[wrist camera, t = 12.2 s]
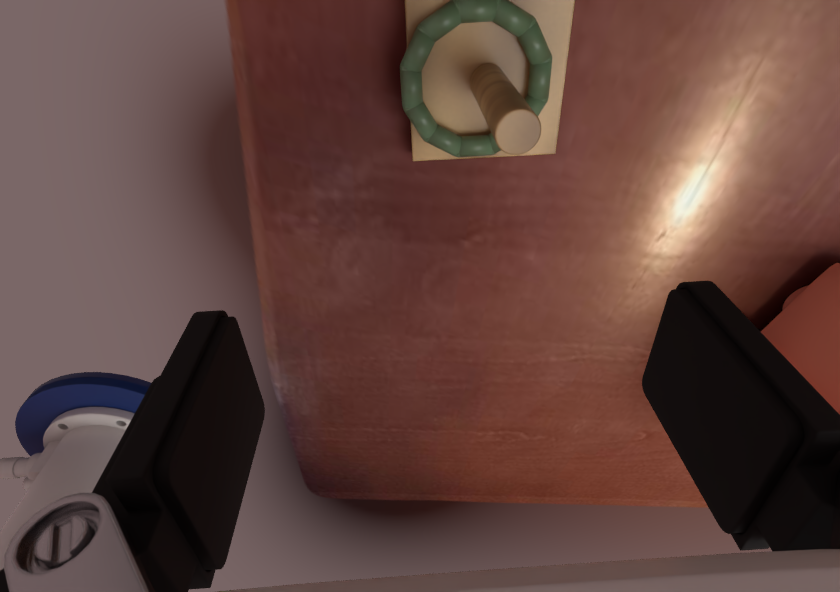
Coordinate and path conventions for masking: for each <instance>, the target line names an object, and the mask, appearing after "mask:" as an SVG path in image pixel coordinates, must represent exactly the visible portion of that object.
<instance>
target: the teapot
mask: <svg viewBox="0 0 840 592" xmlns="http://www.w3.org/2000/svg"><path fill="white" fill-rule="evenodd" d="M782 310H783V311H782V312H781V313H780V314H779V315H778V316H776V317H775V318H774V319H773V320H772V321H771V322H770V323H769V324H768V325H767V326H766V327H765V328H764V329H763V330H762V331H761V333H762V334H763V335H764V336H765V337H766V338H767V339H768V340H769V341H770V342H771V343H772V344H773V345H774V346H775V347H776V349H777V350H778V351H779V352H780V353H781V354H782V355H783V356H784V357H785V358H786V359H787V360H788V361H789V362H790V363H791V364H792V365H793V366H794V367H795V368H796V369H797V371H798V372H799V373H800V374H801V375H802V376H803V377H804V378H805V379H806V380H807V381H808V382H809V383H810V384H811V385H812V386H813V387H814V388H815V389H816V390H817V391H818V392H819V394H820V395H821V396H822V397H823V398H824V399H825V400H826V401H827V402H828V403H829V404H830V405H831V406H832V407H833V408H834V409H835V410H836V411H837V412H838V413H839V414H840V263H835V264H833V265H832V266H831V267H829V268H828V269H827V270H826V271H824V272H823V273H822V274H821V275H820V276H819V277H818V278H817V279H815V280H814V281H813V282H812V283H811V284H810V285H808V286H805V287H802V288H800V289H798V290H796V291H795V292H793V293H792V294H791V295H790V296H789V297H788V298H787V299H786V300H785V302H784V304H783V308H782Z"/></svg>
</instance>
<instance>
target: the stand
mask: <svg viewBox="0 0 840 592" xmlns="http://www.w3.org/2000/svg"><path fill="white" fill-rule="evenodd" d="M449 1H450V0H405V20H406V40H407V48H408V46H409V43H410V41H411V39H412V37H413V34H414V32H415V30H416V28H417V26H418V24H419V23H421V22H422V21H423V20H424V19H426V18H427V17H429V16H430V15H431V14H433V13H434V12H435V11H437V10H438V9H439V8H441V7H442V6H443V5H445V4H446V3H447V2H449ZM509 1H510V2H512V3H513V4H515V5H517V6H518V7H520V8H521V9H523V10H525V11H526V12H528V13H529V14H531V15H533V16H534V17H535V18H536V20H537V22H538V25H539V27H540V29H541V31H542V34H543V36H544V38H545V40H546V43H547V45H548V47H549V49H550V52H551V54H552V69H551V79H550V89H549V98H548V101H547V103H546V104H545V106H544V108H543V109H542V111H541V112H540V114H539V116H537V115H536V114H535V113H534V111H533V110H532V109H531V107H530V106H529V105H528V103H527V102H526V101H525V97H526V96H527V94H528V81H529V67H530V63H529V61H528V59H527V57H526V54H525V52H524V50H523V48H522V46H521V44H520V42H519V40H518V38H517V36H515V35H513V34H512V33H510V32H508V31H507V30H505V29H504V28H502V27H500V26H499V25H497V24H495V23H494V22H476V23H461V24H460V25H458V26H457V27H456V28H454V29H453V30H451V31H450V32H449V33H447V34H446V35H444V36H443V37H442V38H440V39H439V40H438V41H436V42H435V44H434V46H433V48H432V50H431V52H430V54H429V56H428V59H427V61H426V63H425V65H424V67H423V69H422V92H423V102H424V104H425V105H426V107H427V108H428V110H429V112H430V113H431V115H432V116H433V118H434V120H435V121H436V123H437V124H438V125H440V126H442V127H444V128H446V129H448V130H449V131H451V132H453V133H455V134H457V135H459V136H475V135H488V134H490V133H492V135H493V137H494V140H495V142H496V144H497V146H498V147H499V148H500V149H501V151H499V152H497V153H496V154H494V155H486V156H471V157H455V156H453V155H451V154H449V153H447V152H445V151H443V150H441V149H439V148H437V147H435V146H433V145H431V144H429V143H427V142H425V141H424V140H423V139H422V138H421V136H420V135H419V133H418V132H417V130H416V129H415V127H414V125H413V124H412V122H411V121H410V122H411V142H412V160H413V161H427V160H446V159H466V158H486V157H505V156H525V155H545V154H555V153H556V145H557V137H558V130H559V122H560V114H561V106H562V98H563V90H564V83H565V75H566V67H567V59H568V51H569V43H570V36H571V28H572V20H573V12H574V4H575V0H509Z"/></svg>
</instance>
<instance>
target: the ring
mask: <svg viewBox="0 0 840 592" xmlns="http://www.w3.org/2000/svg"><path fill="white" fill-rule="evenodd" d="M476 22H494V23H495V24H497V25H499V26H500V27H502V28H504V29H505V30H507V31H508V32H510V33H512V34H513V35H515V36H517V38H518V40H519V42H520V44H521V46H522V48H523V50H524V52H525V54H526V57H527V59H528V61H529V63H530V67H529V81H528V94H527V96H526V97H525V101H526V102H527V103H528V105H529V106H530V107H531V109H532V110H533V111H534V113H535V114H536V115H537V116H539V114H540V112H541V111H542V109H543V108H544V106H545V104H546V103H547V101H548V98H549V89H550V79H551V69H552V54H551V52H550V49H549V47H548V45H547V43H546V40H545V38H544V36H543V34H542V31H541V29H540V27H539V25H538V22H537V20H536V18H535V17H534V16H533V15H531V14H529V13H528V12H526V11H525V10H523V9H521V8H520V7H518V6H517V5H515V4H513V3H512V2H510V1H509V0H450V1H449V2H447V3H446V4H445V5H443V6H442V7H441V8H439V9H438V10H437V11H435V12H434V13H433V14H431V15H430V16H429V17H427V18H426V19H424V20H423V21H422V22H421V23H419V24H418V26H417V28H416V30H415V32H414V34H413V37H412V39H411V41H410V43H409V46H408V48H407V50H406V52H405V54H404V57H403V59H402V61H401V64H400V81H401V96H402V107H403V110H404V112H405V113H406V115H407V116H408V118H409V119H410V121H411V122H412V124H413V125H414V127H415V129H416V130H417V132H418V133H419V135H420V136H421V138H422V139H423V140H424V141H425V142H427V143H429V144H431V145H433V146H435V147H437V148H439V149H441V150H443V151H445V152H447V153H449V154H451V155H453V156H455V157H471V156H486V155H494V154H496V153H497V152H499V151H501V149H500V148H499V147H498V146H497V144H496V142H495V140H494V137H493V135H492V133H490V134H488V135H475V136H459V135H457V134H455V133H453V132H451V131H449V130H448V129H446V128H444V127H442V126H440V125H438V124H437V123H436V121H435V120H434V118H433V116H432V115H431V113H430V112H429V110H428V108H427V107H426V105H425V104H424V102H423V92H422V69H423V67H424V65H425V63H426V61H427V59H428V56H429V54H430V52H431V50H432V48H433V46H434V44H435V42H436V41H438V40H439V39H440V38H442V37H443V36H444V35H446V34H447V33H449V32H450V31H451V30H453V29H454V28H456V27H457V26H458V25H460V24H461V23H476Z"/></svg>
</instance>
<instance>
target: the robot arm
mask: <svg viewBox="0 0 840 592" xmlns="http://www.w3.org/2000/svg"><path fill="white" fill-rule="evenodd" d="M642 386H643V391H644V393H645V396H646V397H647V399H648V401H649V403H650V404H651V406H652V408H653V410H654V411H655V413H656V415H657V417H658V419H659V420H660V422H661V424H662V426H663V427H664V429H665V431H666V433H667V434H668V436H669V438H670V440H671V442H672V443H673V445H674V447H675V449H676V450H677V452H678V454H679V456H680V457H681V459H682V461H683V463H684V464H685V466H686V468H687V470H688V472H689V473H690V475H691V477H692V479H693V480H694V482H695V484H696V486H697V487H698V489H699V491H700V493H701V495H702V496H703V498H704V500H705V502H706V503H707V505H708V507H709V509H710V510H711V512H712V514H713V516H714V518H715V519H716V521H717V523H718V524H719V526H720V527H721V529H722V530H723V531H724V532H726V533H728V534H731V535H732V536H733V538H734V540H735V542H736V543H737V545H738V547H739V549H740V550H753V549H768V548H769V547H770V548H771V550H772V552H751V553H731V554H716V555H702V556H686V557H670V558H656V559H640V560H624V561H610V562H595V563H580V564H565V565H551V566H537V567H522V568H508V569H494V570H480V571H467V572H452V573H438V574H425V575H412V576H400V577H385V578H372V579H359V580H346V581H333V582H319V583H306V584H294V585H283V586H272V587H262V588H252V589H241V590H229V591H219V592H840V414H839V413H838V412H837V411H836V410H835V409H834V408H833V407H832V406H831V405H830V404H829V403H828V402H827V401H826V400H825V399H824V398H823V397H822V396H821V395H820V394H819V392H818V391H817V390H816V389H815V388H814V387H813V386H812V385H811V384H810V383H809V382H808V381H807V380H806V379H805V378H804V377H803V376H802V375H801V374H800V373H799V372H798V371H797V369H796V368H795V367H794V366H793V365H792V364H791V363H790V362H789V361H788V360H787V359H786V358H785V357H784V356H783V355H782V354H781V353H780V352H779V351H778V350H777V349H776V347H775V346H774V345H773V344H772V343H771V342H770V341H769V340H768V339H767V338H766V337H765V336H764V335H763V334H762V333H761V332H760V331H759V330H758V329H757V328H756V327H755V326H754V324H753V323H752V322H751V321H750V320H749V319H748V318H747V317H746V316H745V315H744V314H743V313H742V312H741V311H740V310H739V309H738V308H737V307H736V306H735V305H734V304H733V303H732V301H731V300H730V299H729V298H728V297H727V296H726V295H725V294H724V293H723V292H722V291H721V290H720V289H719V288H718V287H717V286H716V285H715V284H714V283H713V282H711V281H696V282H683V283H680V284H679V285H678V286H677V288H676V289H674V290H671V292H670V293H669V295H668V298H667V301H666V304H665V308H664V311H663V314H662V317H661V320H660V324H659V327H658V330H657V333H656V336H655V340H654V343H653V346H652V349H651V352H650V356H649V359H648V362H647V365H646V369H645V372H644V375H643V379H642ZM264 409H265V408H264V402H263V399H262V396H261V393H260V390H259V387H258V384H257V381H256V378H255V374H254V372H253V368H252V365H251V362H250V359H249V356H248V353H247V350H246V347H245V344H244V341H243V338H242V335H241V331H240V328H239V325H238V322H237V320H236V318H234V317H228V315H227V314H226V312H225V311H206V312H196V313H194V315H193V316H192V318H191V319H190V321H189V323H188V325H187V327H186V329H185V331H184V333H183V334H182V336H181V338H180V340H179V342H178V344H177V346H176V348H175V349H174V351H173V353H172V355H171V357H170V359H169V361H168V363H167V365H166V366H165V368H164V370H163V372H162V374H161V376H159V377H157V378H156V379H154V381H153V382H152V383H151V385H150V386H149V388H148V390H147V392H146V394H145V396H144V398H143V399H142V401H141V403H140V405H139V407H138V409H137V410H136V412H135V413H132V412H129V411H125V410H121V409H117V408H109V407H84V408H77V409H73V410H70V411H67V412H65V413H63V414H61V415H59V416H58V417H57V418H55V419H54V420H53V421H52V422H51V424H50V425H49V427H48V428H47V430H46V431H45V434H44V437H43V446H44V448H45V449H44V450H43V452H42V453H36V454H33V455H32V456H31V457H30V458H24V457H15V458H2V459H0V479H10V478H20V477H26V478H25V479H24V481H23V488H24V489H25V490H27V492H26V494H25V495H24V496H23V498H22V499H21V501H20V503H19V504H18V506H17V507H16V508H15V510H14V511H13V513H12V514H11V516H10V517H9V519H8V520H7V522H6V523H5V525H4V527H3V528H2V530H1V531H0V592H188V590H189V589H199V588H210V587H211V584H212V580H213V576H214V573H215V569H221V568H222V567H223V566H224V564H225V562H226V559H227V555H228V552H229V547H230V544H231V540H232V537H233V533H234V529H235V525H236V522H237V518H238V514H239V510H240V507H241V503H242V499H243V495H244V492H245V488H246V484H247V480H248V477H249V473H250V469H251V465H252V462H253V458H254V454H255V450H256V446H257V442H258V439H259V435H260V432H261V428H262V424H263V420H264V413H265V410H264Z"/></svg>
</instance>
